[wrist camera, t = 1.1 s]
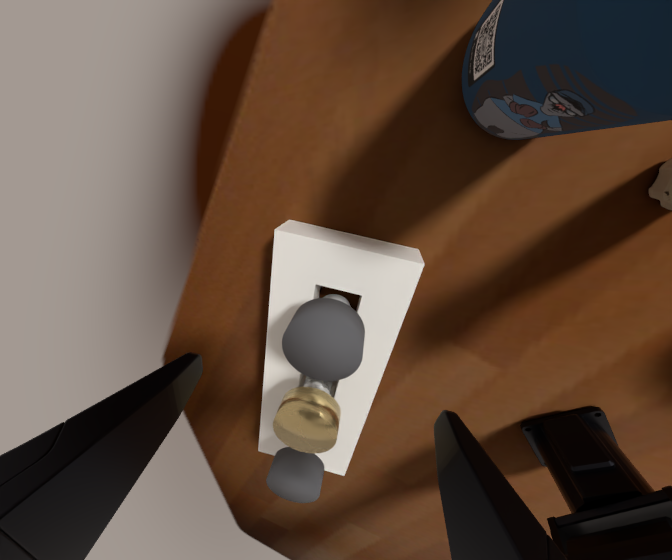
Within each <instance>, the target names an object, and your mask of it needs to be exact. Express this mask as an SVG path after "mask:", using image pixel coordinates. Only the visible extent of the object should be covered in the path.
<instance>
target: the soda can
mask: <svg viewBox="0 0 672 560" xmlns="http://www.w3.org/2000/svg"><path fill="white" fill-rule="evenodd" d="M462 91H463V97H464V101H465V104H466V107H467V109H468V111H469V113H470V115H471V117H472V118H473V120H474V121H475V122H476V123H477V124H478V125H479V126H480V127H481V128H482V129H483V130H485V131H486V132H488V133H489V134H491V135H494V136H496V137H499V138H503V139H509V140H522V139H531V138H538V137H546V136H553V135H561V134H569V133H576V132H584V131H591V130H599V129H606V128H614V127H622V126H629V125H637V124H644V123H652V122H660V121H667V120H672V0H493V1H492V2H491V3H490V5H489V6H488V8H487V9H486V10H485V12H484V14H483V15H482V17H481V18H480V20H479V22H478V24H477V25H476V27H475V29H474V31H473V34H472V36H471V38H470V41H469V44H468V47H467V50H466V53H465V57H464V62H463V69H462Z"/></svg>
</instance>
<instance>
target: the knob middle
mask: <svg viewBox="0 0 672 560" xmlns="http://www.w3.org/2000/svg"><path fill="white" fill-rule="evenodd" d="M331 387H332V381H321V380H316V379H313V378H310V377H307V376H306V379H305V382H304V385H303V387H296V388H293V389H291V390H289V391H288V392H287V393H286V394H285V395H284V397H283V399H282V401H281V404H280V406H279V409H278V411H277V413H276V416H275V418H274V421H273V430H274V433H275V434H276V436H277V437H278V438H279V440H281V441H282V442H283V443H284V444H285V445H287V446H289V447H291V448H292V449H295V450H297V451H300V452H305V453H323V452H326V451H328V450H330V449H332V448H333V447H334V445H335V444H336V441H337V435H338V429H339V423H340V417H341V409H340V406H339V404H338V403H337V401H336V400H335V399H334V398H333V397H332V396H331V395H330V391H331Z"/></svg>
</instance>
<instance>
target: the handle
mask: <svg viewBox="0 0 672 560" xmlns="http://www.w3.org/2000/svg"><path fill="white" fill-rule="evenodd" d="M649 196H650V197H651V198H655V199H658V200H660V202H661V206H662V207H664V208H666V209H668V210H672V158H671V159H669V160H668V161H667V162H665V163H664V164H663V165H662V166H661V167H660V168H659V174H658V177H657V179H656V181H655V182H654V184H653V185H652V186H651V187H650V188H649Z"/></svg>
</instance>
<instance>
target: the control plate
mask: <svg viewBox="0 0 672 560" xmlns="http://www.w3.org/2000/svg"><path fill="white" fill-rule="evenodd" d="M424 265H425V264H424V262H423V259H422V257H421V254H420V251H419V249H415V248H411V247H407V246H402V245H398V244H394V243H389V242H385V241H381V240H376V239H372V238H368V237H363V236H359V235H355V234H350V233H346V232H342V231H337V230H333V229H329V228H324V227H320V226H316V225H311V224H307V223H303V222H298V221H294V220H288V221H287V222H285V223H284V224H282V225H281V226H279V227H278V228H276V229H275V233H274V246H273V260H272V273H271V286H270V300H269V313H268V327H267V340H266V354H265V367H264V380H263V394H262V407H261V421H260V434H259V448H258V451H261V452H264V453H267V454H271V455H274V456H275V454H276V452H277V451H278V450H280V449H282V448H285V447H289V446H287V445H285V444H284V443H283V442H282V441H281V440H279V438H278V437H277V436H276V434H275V433H274V430H273V421H274V418H275V416H276V413H277V411H278V409H279V406H280V404H281V401H282V399H283V397H284V395H285V394H286V393H287V392H288V391H289V390H291V389H293V388H296V387H303V385H304V382H305V379H306V376H305V375H303V374H302V373H300V372H299V371H297V370H296V369H295V368H294V367H293V366H292V365H291V364H290V363H289V362H288V360H287V359H286V357H285V355H284V353H283V349H282V338H283V334H284V332H285V330H286V329H287V327H288V325H289V323H290V321H291V320H292V318H293V316H294V314H295V313H296V311H297V309H298V308H299V307H300V306H301V305H302V304H304V303H306V302H307V301H310V300H313V299H317V298H319V294H320V288H321V286H325V287H329V288H333V289H337V290H341V291H345V292H349V293H353V294H357V295H360V297H359V301H358V305H357V309H356V312H357V313H358V314H359V316H360V317H361V319H362V321H363V324H364V327H365V338H364V348H363V358H362V362H361V364H360V366H359V368H358V369H357V370H356V371H355V372H354V373H353V374H352V375H350V376H349V377H347V378H344V379H341V380H337V381H332V387H331V391H330V395H331V396H332V397H333V398H334V399H335V400H336V401H337V403H338V404H339V406H340V409H341V417H340V423H339V429H338V435H337V441H336V444H335V445H334V447H333V448H332V449H330V450H328V451H326V452H323V453H315V455H317V456H318V457H319V458H320V459H321V460H322V462H323V464H324V470H325V471H329V472H332V473H336V474H339V475H342V476H344V475H345V473H346V470H347V467H348V465H349V462H350V460H351V457H352V454H353V452H354V449H355V446H356V444H357V441H358V438H359V436H360V433H361V431H362V428H363V425H364V423H365V420H366V417H367V415H368V412H369V410H370V407H371V404H372V402H373V399H374V396H375V394H376V391H377V388H378V386H379V383H380V381H381V378H382V375H383V373H384V370H385V367H386V365H387V362H388V359H389V357H390V354H391V352H392V349H393V346H394V344H395V341H396V338H397V336H398V333H399V330H400V328H401V325H402V323H403V320H404V317H405V315H406V312H407V309H408V307H409V304H410V302H411V299H412V296H413V294H414V291H415V288H416V286H417V283H418V280H419V278H420V275H421V273H422V270H423V267H424Z"/></svg>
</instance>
